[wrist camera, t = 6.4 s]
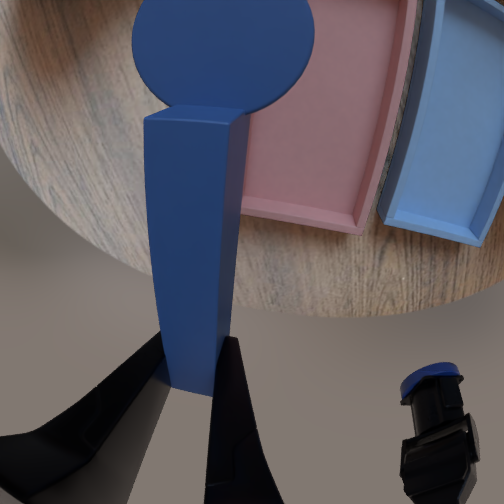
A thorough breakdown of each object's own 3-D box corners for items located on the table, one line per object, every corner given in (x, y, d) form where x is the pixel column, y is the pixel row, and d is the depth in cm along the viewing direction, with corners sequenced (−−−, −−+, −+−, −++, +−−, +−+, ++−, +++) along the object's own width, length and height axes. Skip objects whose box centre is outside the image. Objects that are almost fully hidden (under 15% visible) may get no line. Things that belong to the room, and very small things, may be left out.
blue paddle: (157, -29, 5) (102, -54, 3) (320, -26, 4) (332, -67, 2) (161, 326, 11) (138, 378, 9) (259, 346, 11) (250, 404, 9)
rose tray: (356, 220, 18) (361, 236, 17) (235, 198, 19) (229, 212, 17) (407, -17, 10) (420, -24, 8) (267, -48, 10) (263, -60, 8)
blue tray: (468, 232, 17) (480, 248, 16) (376, 209, 18) (383, 224, 16) (523, 32, 9) (541, 33, 7) (425, -24, 9) (438, -31, 7)
